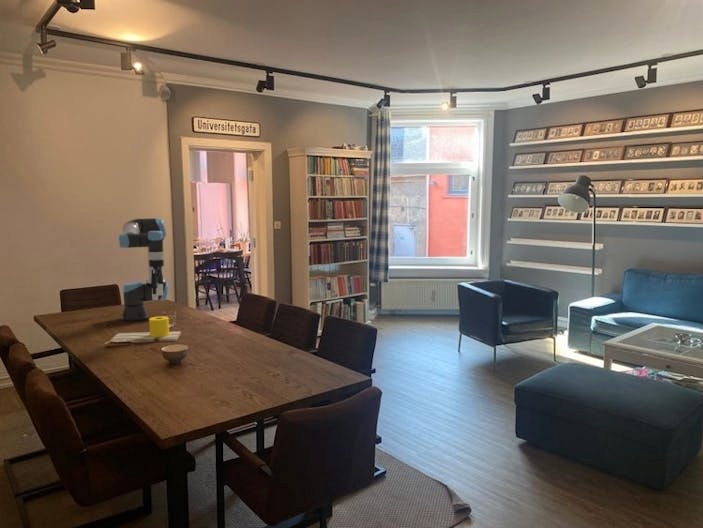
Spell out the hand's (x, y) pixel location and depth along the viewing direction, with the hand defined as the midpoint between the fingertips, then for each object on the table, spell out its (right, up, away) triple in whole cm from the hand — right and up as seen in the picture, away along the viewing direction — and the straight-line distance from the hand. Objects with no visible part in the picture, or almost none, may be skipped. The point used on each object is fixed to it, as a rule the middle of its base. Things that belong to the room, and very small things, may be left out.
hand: (157, 297), depth 288 cm
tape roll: (0, -21, +2) cm, 21 cm away
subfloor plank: (-7, -23, +2) cm, 24 cm away
